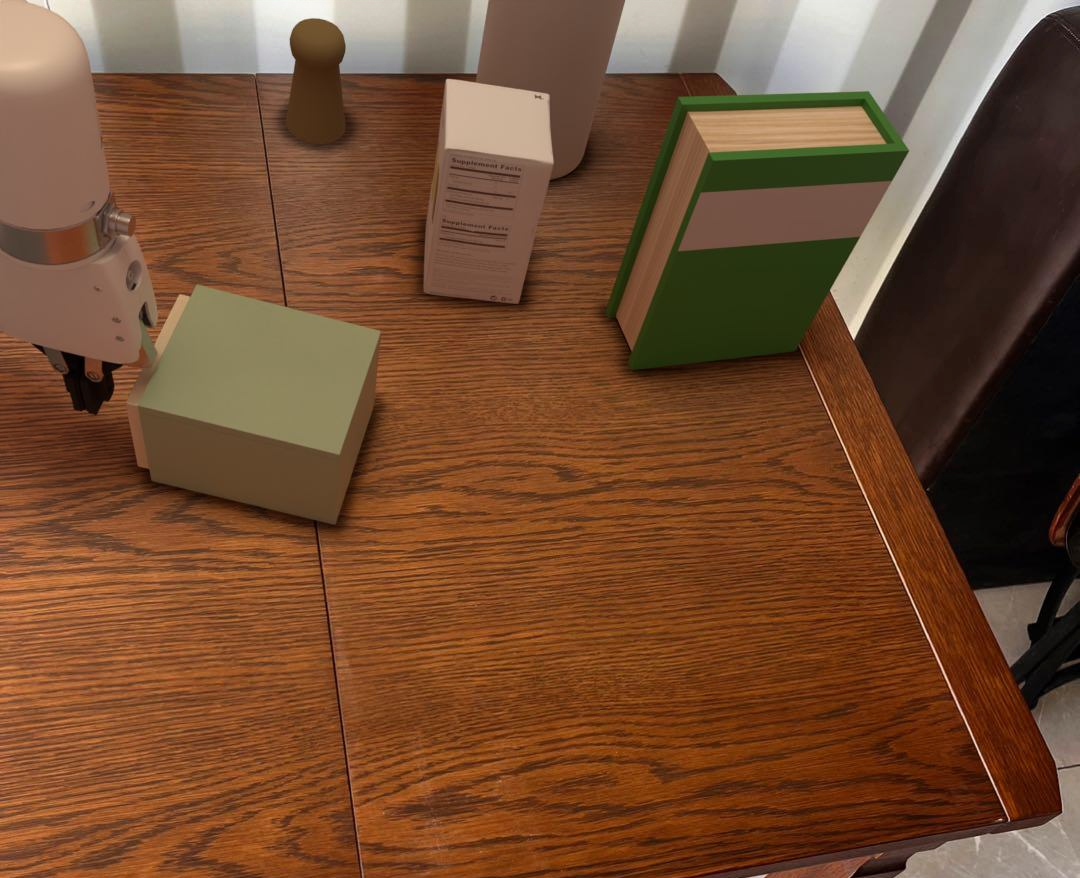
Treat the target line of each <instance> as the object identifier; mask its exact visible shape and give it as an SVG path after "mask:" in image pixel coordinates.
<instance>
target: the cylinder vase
mask: <svg viewBox="0 0 1080 878" xmlns="http://www.w3.org/2000/svg"><path fill="white" fill-rule="evenodd" d="M625 3H626V0H488V2H487V7H486V14H485V20H484V28H483V32H482V39H481V45H480V52H479V57H478V65H477V71H476V78H475V83H481V84H487V85H494V86H501V87H507V88H514V89H521V90H527V91H534V92H540V93H546V94H549V96H550V99H549V111H550V131H551V142H552V152H553V161H554V165H553V169H552V173H551V177H550V181H551V180H557V179H560V178H563V177H564V176H567V175H568V174H570V173H571V172H573V171H574V170H576V168H577V167H578V166H579V165H580V163H581V162H582V160H583V158H584V155H585V151H586V148H587V145H588V141H589V137H590V134H591V129H592V125H593V121H594V119H595V116H596V111H597V107H598V103H599V99H600V96H601V94H602V93H601V92H602V88H603V86H604V81H605V77H606V74H607V70H608V66H609V64H610V63H609V62H610V60H611V55H612V52H613V47H614V44H615V41H616V37H617V33H618V31H619V30H618V29H619V26H620V22H621V18H622V14H623V11H624V8H625Z"/></svg>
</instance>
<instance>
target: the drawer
mask: <svg viewBox="0 0 1080 878" xmlns="http://www.w3.org/2000/svg"><path fill="white" fill-rule="evenodd" d="M190 297H191V296H190V295H185V294H182V293H179V294H178V296H177V298H176V299H175V302H174V304H173V306H172V308H171V310H170V312H169V314H168V316H167V318H166V320H165V322H164V324H163V326H162V327H161V331H160V332H159V334H158V335H157V336H158V337H157V338H156V340H155V342H154V343H153V344H154V346H155V348H156V350H157V353H158V354H157V356H156V358H155V360H154V362H153V364H152V367H151V368H141V371H140V372H139V375H138V376H137V378H136V381H135V383H134V384H133V386H132V389H131V391H130V392H129V395H128V397H127V399H126V400H125V407H126V408H125V409H126V414H127V418H128V423H129V424H128V425H129V428H130V432H131V439H132V444H133V448H134V454H135V458H136V464H137V467H139V468H143V469H147V470H149V465H148V459H147V454H146V448H145V443H144V438H143V432H142V427H141V421H140V416H139V410H138V403H139V401H140V399H141V397H142V395H143V393H144V391H145V389H146V387H147V385H148V383H149V381H150V379H151V377H152V375H153V372H154V370H155V368H156V366H157V364H158V362H159V360H160V358H161V356H162V354H163V352H164V350H165V348H166V346H167V344H168V342H169V340H170V338H171V336H172V334H173V331H174V329H175V327H176V325H177V323H178V321H179V319H180V317H181V315H182V313H183V311H184V309H185V307H186V305H187V303H188V301H189V299H190Z"/></svg>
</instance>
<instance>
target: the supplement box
mask: <svg viewBox="0 0 1080 878" xmlns="http://www.w3.org/2000/svg"><path fill="white" fill-rule="evenodd" d="M475 82H476V81H475ZM475 82H473V81H469V80H462V79H453V78H446V79H445V84H444V90H443V97H442V98H443V99H442V104H441V112H440V118H439V119H440V120H439V127H438V133H437V141H436V148H435V157H434V163H433V172H432V179H431V186H430V192H429V199H428V207H427V214H426V221H425V223H426V224H425V233H424V234H425V237H424V254H423V255H424V256H423V293H424V294H428V295H431V296H432V295H433V296H440V297H441V296H442V297H451V298H458V299H459V298H460V299H467V300H476V301H477V300H478V301H486V302H487V301H488V302H495V303H503V304H505V303H506V304H513V305H514V304H516V305H519V304H520V300H521V296H522V292H523V288H524V284H525V280H526V276H527V272H528V268H529V263H530V259H531V255H532V251H533V248H534V244H535V243H534V242H535V238H536V237H535V236H536V231H537V228H538V226H539V221H540V217H541V215H542V211H543V207H544V203H545V200H546V196H547V192H548V188H549V185H550V181H551V180H550V177H551V173H552V169H553V165H554V161H553V152H552V142H551V131H550V111H549V99H550V96H549V94H546V93H540V92H534V91H527V90H521V89H514V88H507V87H501V86H494V85H487V84H481V83H475Z"/></svg>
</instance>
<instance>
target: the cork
mask: <svg viewBox="0 0 1080 878" xmlns="http://www.w3.org/2000/svg"><path fill="white" fill-rule="evenodd" d="M289 47H290V52H291V56H292V58H294V66H293V73H292V78H291V79H292V80H291V85H290V92H289V98H288V104H287V105H288V106H287V111H286V118H285V123H286V128H287V129H288V131H289V132H290V134H291V135H293V136H294V137H295V138H296V139H298V140H300V141H303V142H306V143H310V144H315V145H325V144H330V143H334V142H336V141H338V140H340V139H341V138H342V137H343V135H344V134H345V132H346V129H347V126H346V125H347V124H346V117H345V107H344V106H345V105H344V96H343V88H342V87H343V86H342V79H341V70H340V64H341V63H342V62H343V60H344V58H345V54H346V50H347V49H346V47H347V45H346V41H345V36H344V33H343V32H342V30H341V29H340V28H339V26H337V25H336V23H335V24H334V23H333V22H331V21H329V20H326V19H323V18H319V17H318V18H317V17H315V18H313V17H310V18H304V19H302V20H300V21H298V22H297V23H296V24H295V25H294V26H293V28H292V29H291V32H290V36H289Z"/></svg>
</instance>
